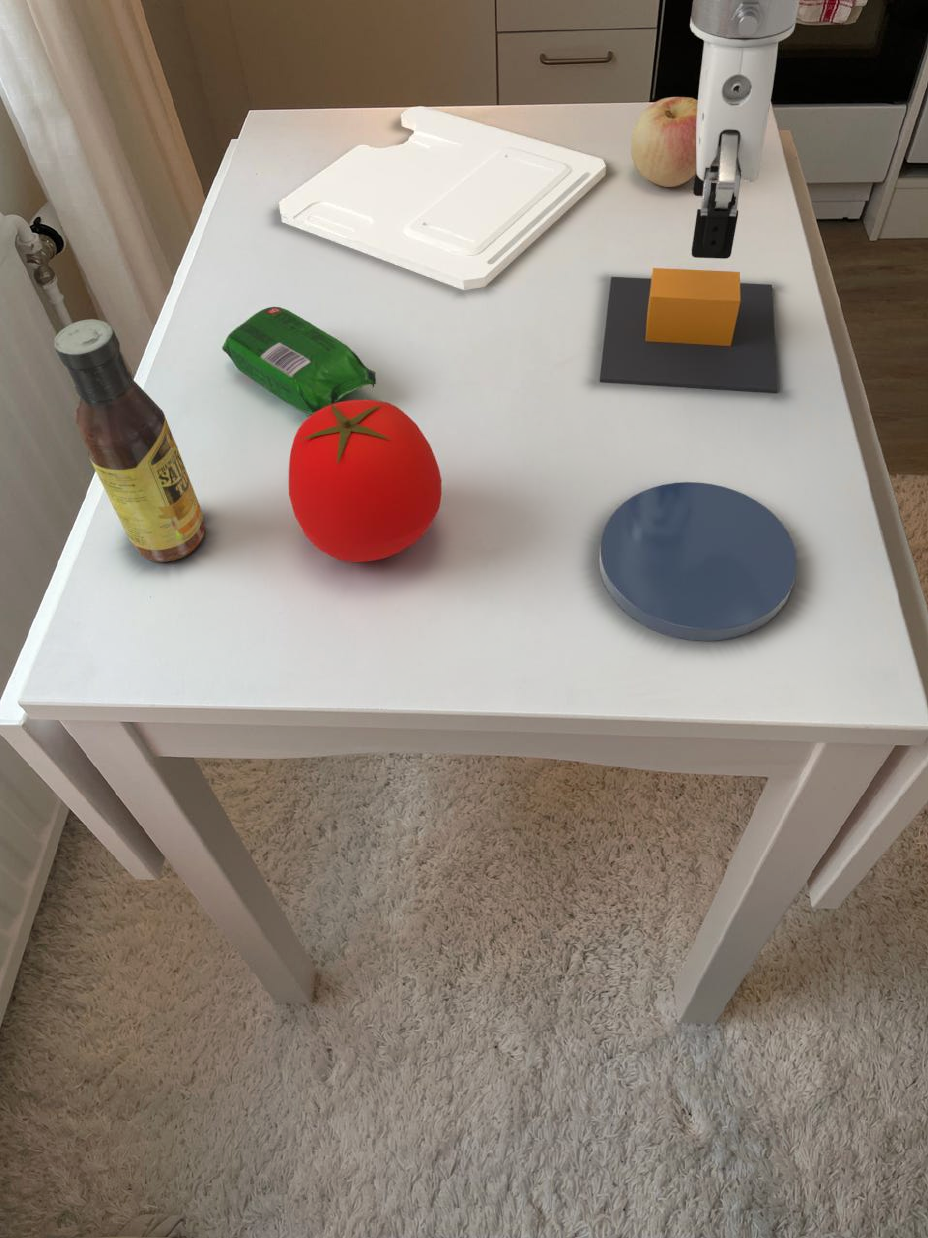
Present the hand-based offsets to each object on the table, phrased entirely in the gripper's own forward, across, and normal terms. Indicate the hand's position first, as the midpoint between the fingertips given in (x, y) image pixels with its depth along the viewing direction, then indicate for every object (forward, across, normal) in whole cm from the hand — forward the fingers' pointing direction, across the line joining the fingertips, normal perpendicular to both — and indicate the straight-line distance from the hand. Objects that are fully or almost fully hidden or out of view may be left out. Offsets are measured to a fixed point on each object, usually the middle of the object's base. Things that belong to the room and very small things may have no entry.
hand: (710, 224), depth 83 cm
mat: (+12, 0, 0) cm, 12 cm away
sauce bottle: (+12, -30, +42) cm, 54 cm away
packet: (+11, +1, 0) cm, 11 cm away
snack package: (+12, -10, +36) cm, 40 cm away
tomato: (+12, -28, +25) cm, 40 cm away
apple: (+11, +28, +3) cm, 31 cm away
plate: (+12, -28, -1) cm, 31 cm away
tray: (+11, +24, +28) cm, 38 cm away
